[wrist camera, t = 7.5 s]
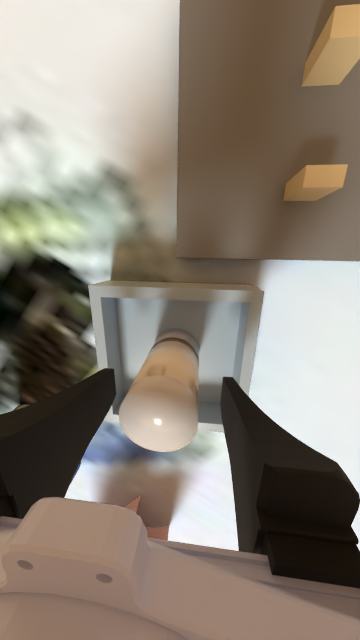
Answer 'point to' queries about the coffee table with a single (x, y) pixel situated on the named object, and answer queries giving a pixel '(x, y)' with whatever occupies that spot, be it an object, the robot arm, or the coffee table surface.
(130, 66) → the coffee table surface
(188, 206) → the flat gray square panel
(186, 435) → the led light bulb
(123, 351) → the parts tray
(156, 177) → the coffee table surface
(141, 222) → the coffee table surface
